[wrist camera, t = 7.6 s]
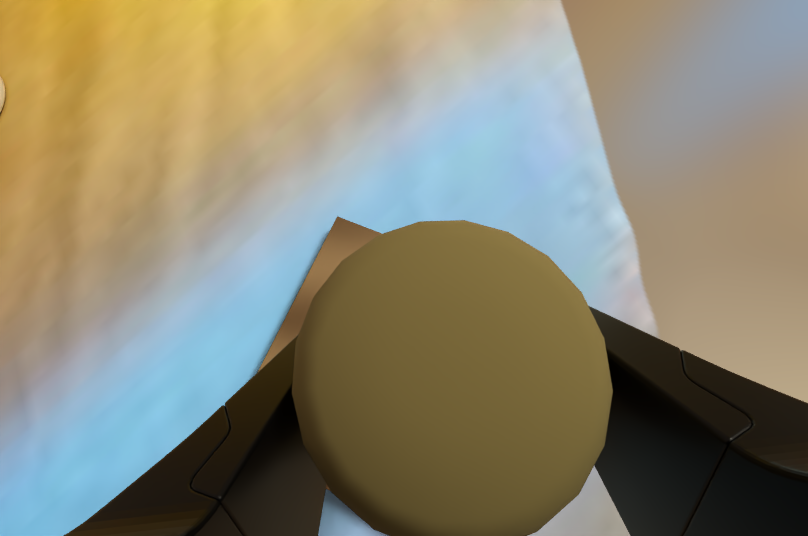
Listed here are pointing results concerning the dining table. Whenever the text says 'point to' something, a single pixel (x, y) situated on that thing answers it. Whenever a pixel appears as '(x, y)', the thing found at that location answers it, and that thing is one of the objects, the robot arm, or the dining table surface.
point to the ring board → (320, 278)
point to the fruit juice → (2, 94)
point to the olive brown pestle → (451, 383)
